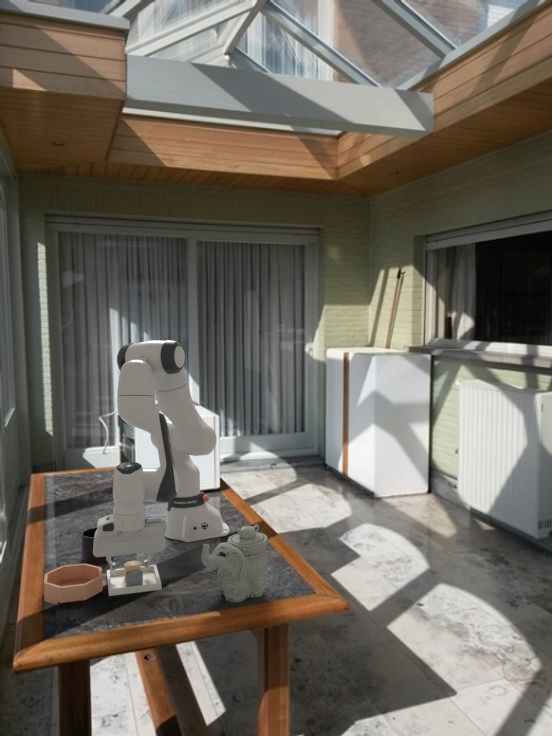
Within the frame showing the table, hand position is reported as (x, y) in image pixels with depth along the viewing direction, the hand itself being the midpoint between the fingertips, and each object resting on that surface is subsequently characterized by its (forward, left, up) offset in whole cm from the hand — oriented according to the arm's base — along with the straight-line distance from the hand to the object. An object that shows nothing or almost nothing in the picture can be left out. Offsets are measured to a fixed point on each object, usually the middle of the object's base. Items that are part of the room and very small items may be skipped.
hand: (130, 568), depth 184 cm
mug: (+8, -17, -4) cm, 19 cm away
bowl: (+15, +3, -4) cm, 16 cm away
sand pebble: (-1, 0, -3) cm, 3 cm away
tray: (-1, +3, -4) cm, 5 cm away
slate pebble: (-1, +6, -3) cm, 7 cm away
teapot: (-27, +17, -4) cm, 32 cm away
